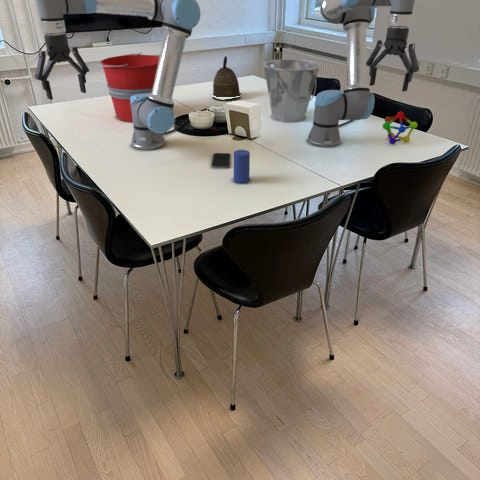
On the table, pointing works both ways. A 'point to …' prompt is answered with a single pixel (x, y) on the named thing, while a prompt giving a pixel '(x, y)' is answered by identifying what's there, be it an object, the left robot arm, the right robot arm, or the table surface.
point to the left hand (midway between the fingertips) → (67, 95)
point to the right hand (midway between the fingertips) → (387, 88)
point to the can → (241, 166)
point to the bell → (225, 82)
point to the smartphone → (221, 160)
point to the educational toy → (398, 128)
